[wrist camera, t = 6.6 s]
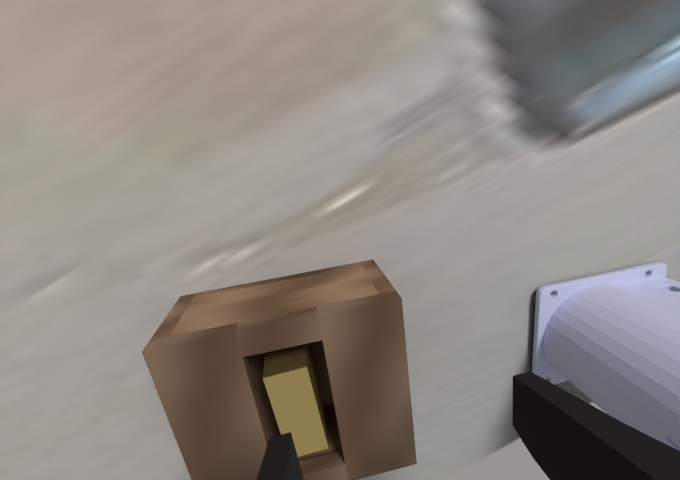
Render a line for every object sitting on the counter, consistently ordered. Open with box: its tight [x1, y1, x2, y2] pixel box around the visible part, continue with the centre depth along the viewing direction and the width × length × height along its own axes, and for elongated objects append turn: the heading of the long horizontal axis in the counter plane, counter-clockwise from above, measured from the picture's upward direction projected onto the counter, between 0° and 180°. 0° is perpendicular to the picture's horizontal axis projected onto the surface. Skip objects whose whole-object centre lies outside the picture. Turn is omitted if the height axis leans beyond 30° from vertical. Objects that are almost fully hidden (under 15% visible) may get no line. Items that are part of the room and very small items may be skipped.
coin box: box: [142, 260, 417, 480], centre depth 18 cm, size 11×10×5 cm
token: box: [263, 343, 329, 457], centre depth 17 cm, size 2×5×4 cm, turn 11°
